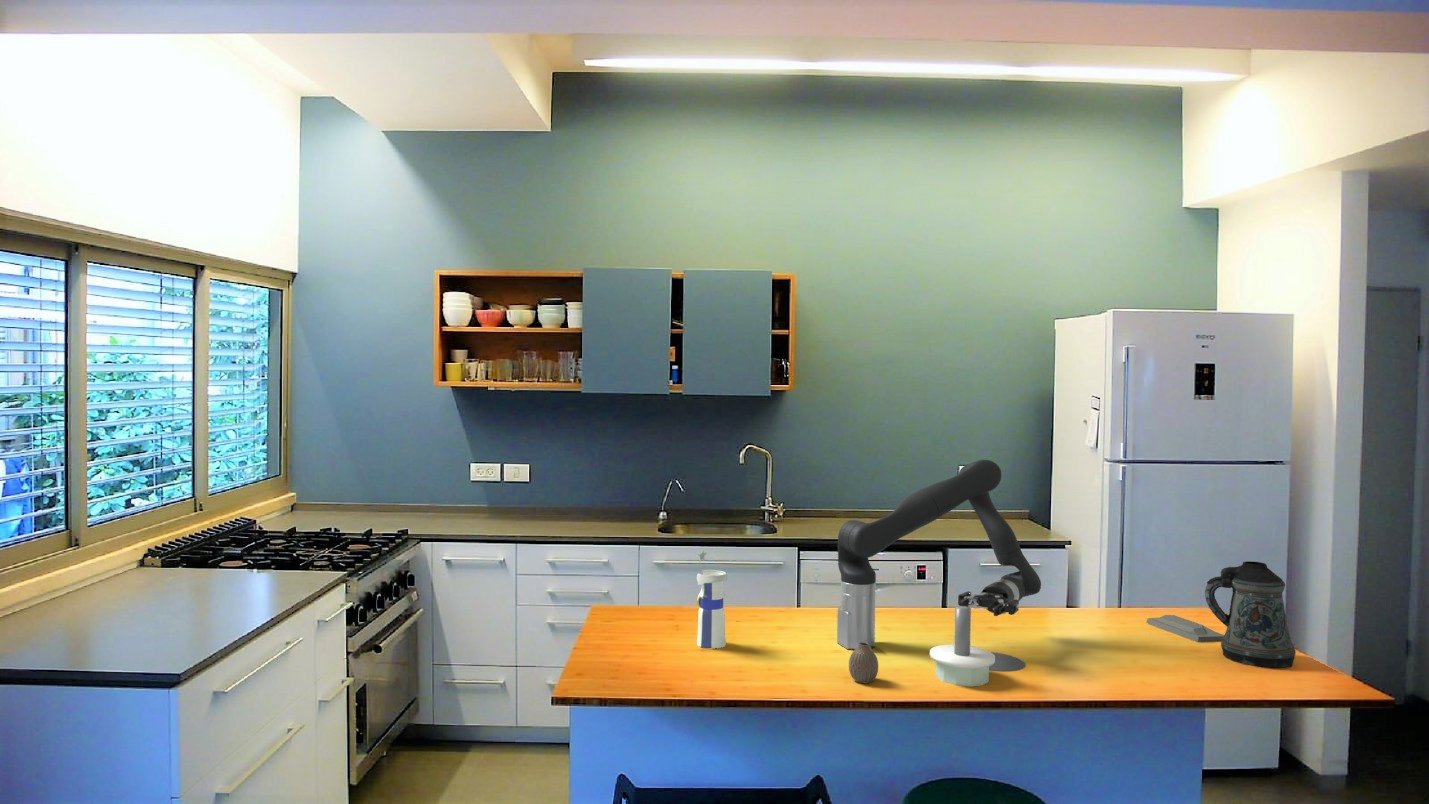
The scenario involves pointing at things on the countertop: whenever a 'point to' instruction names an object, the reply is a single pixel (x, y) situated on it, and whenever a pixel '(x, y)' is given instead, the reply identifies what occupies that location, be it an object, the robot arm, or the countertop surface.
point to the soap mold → (1185, 628)
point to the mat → (1006, 663)
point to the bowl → (962, 675)
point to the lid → (962, 646)
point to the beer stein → (1253, 616)
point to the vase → (863, 664)
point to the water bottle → (711, 608)
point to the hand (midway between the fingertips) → (978, 608)
